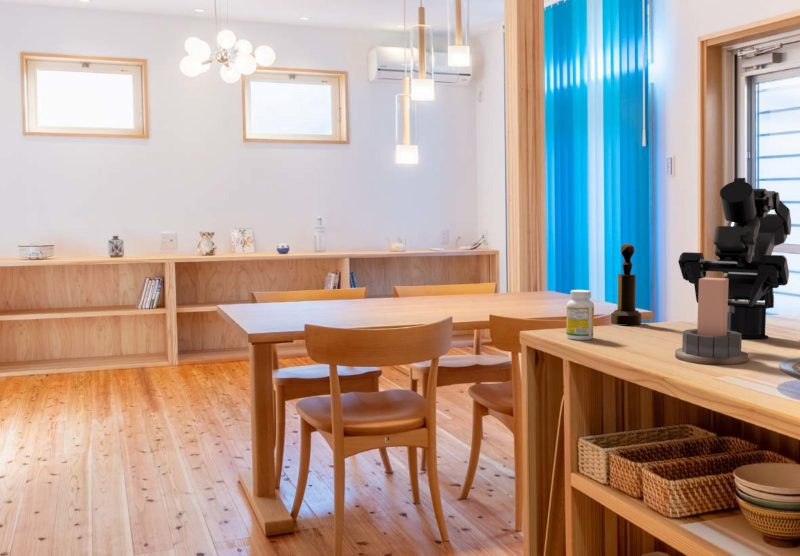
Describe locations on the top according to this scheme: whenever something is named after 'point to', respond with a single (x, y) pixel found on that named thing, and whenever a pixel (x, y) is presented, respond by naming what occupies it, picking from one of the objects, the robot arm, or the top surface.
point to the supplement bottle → (580, 315)
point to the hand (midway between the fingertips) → (723, 303)
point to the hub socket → (711, 349)
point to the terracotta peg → (712, 306)
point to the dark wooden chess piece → (626, 292)
